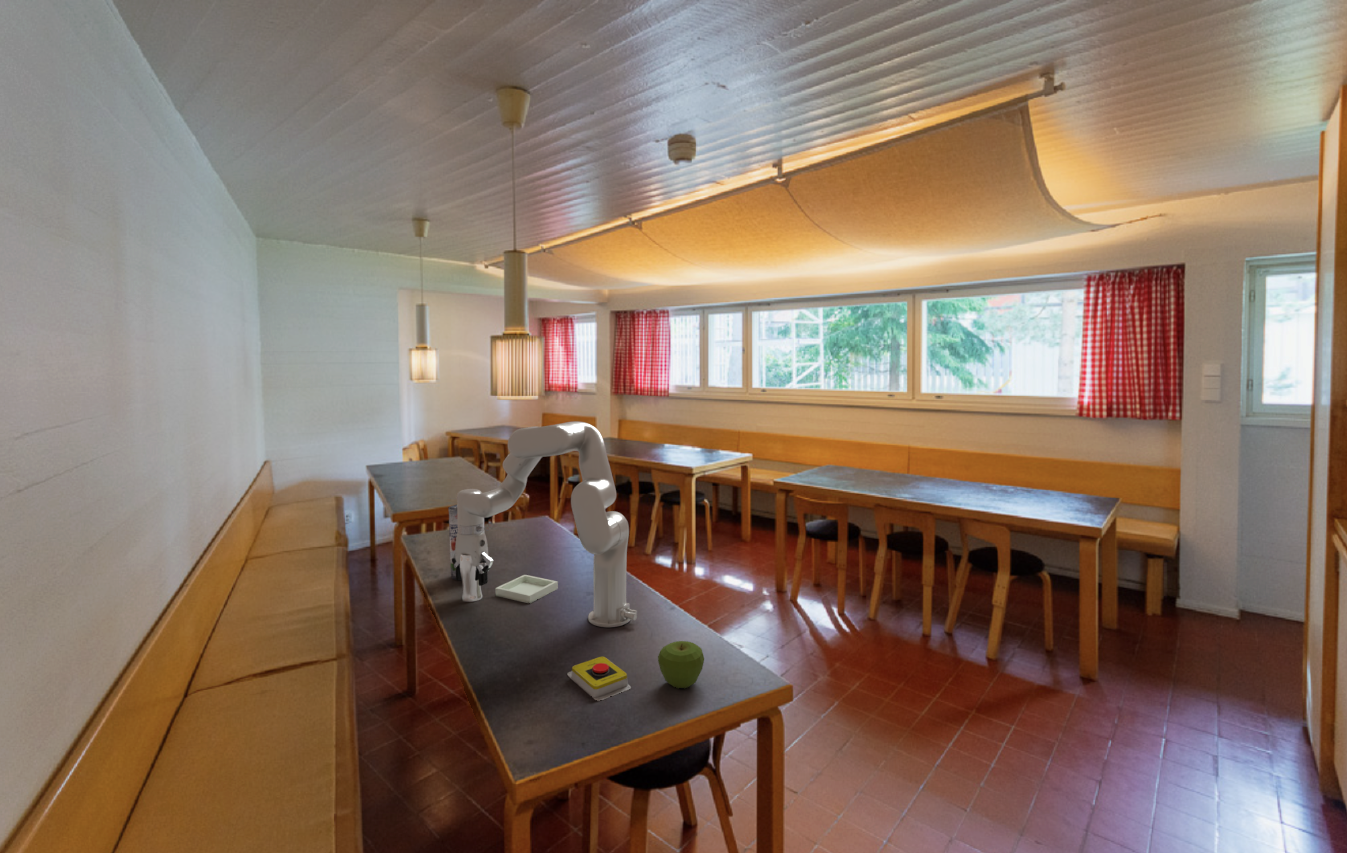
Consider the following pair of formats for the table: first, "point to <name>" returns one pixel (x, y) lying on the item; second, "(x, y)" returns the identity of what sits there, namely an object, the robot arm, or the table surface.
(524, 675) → the table surface
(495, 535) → the table surface
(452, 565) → the juice carton
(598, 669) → the emergency button
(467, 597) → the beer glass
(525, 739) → the table surface
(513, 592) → the sage tray
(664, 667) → the apple
